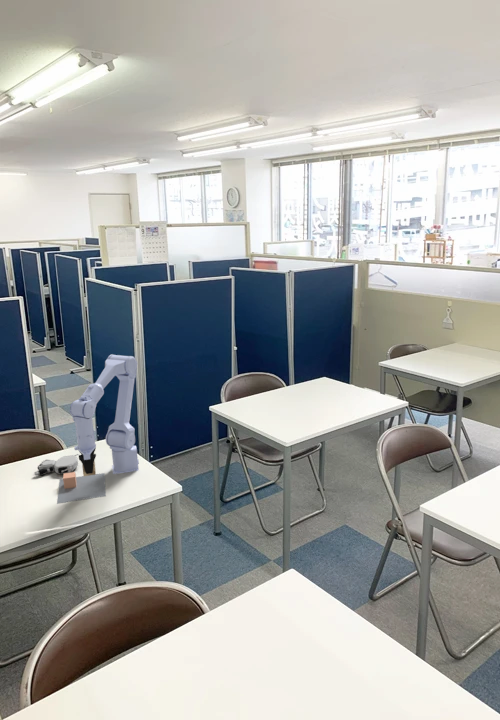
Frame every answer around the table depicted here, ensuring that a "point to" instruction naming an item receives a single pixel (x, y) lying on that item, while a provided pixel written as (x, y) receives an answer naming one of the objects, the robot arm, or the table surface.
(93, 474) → the top brick
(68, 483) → the base brick
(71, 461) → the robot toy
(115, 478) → the table surface
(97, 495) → the baseplate
